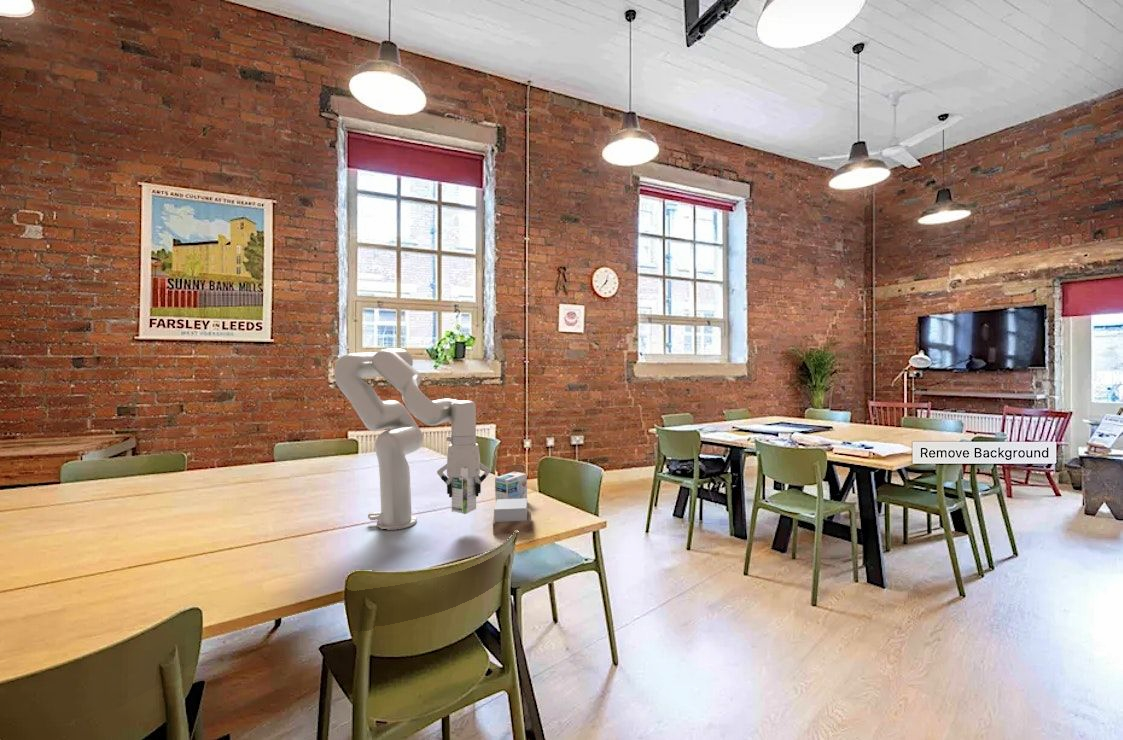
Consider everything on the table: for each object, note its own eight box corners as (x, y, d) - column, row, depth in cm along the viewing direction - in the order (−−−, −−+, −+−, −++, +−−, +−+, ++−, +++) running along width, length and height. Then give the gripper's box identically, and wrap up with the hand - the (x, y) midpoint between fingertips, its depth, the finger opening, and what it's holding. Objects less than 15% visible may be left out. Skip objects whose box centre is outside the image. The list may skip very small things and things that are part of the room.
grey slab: (494, 522, 154) (493, 509, 154) (497, 511, 164) (496, 499, 164) (526, 520, 155) (526, 508, 155) (527, 510, 165) (527, 498, 165)
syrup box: (450, 511, 155) (450, 465, 154) (462, 506, 160) (462, 461, 159) (465, 514, 152) (465, 468, 152) (477, 508, 158) (476, 463, 157)
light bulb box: (508, 509, 176) (507, 479, 176) (494, 506, 180) (493, 477, 180) (528, 502, 185) (527, 473, 184) (514, 499, 189) (514, 471, 188)
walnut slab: (493, 536, 153) (492, 523, 153) (494, 522, 165) (494, 510, 165) (532, 533, 155) (531, 521, 154) (530, 520, 166) (530, 508, 166)
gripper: (433, 443, 150) (434, 500, 151) (491, 442, 152) (491, 498, 153) (437, 438, 158) (437, 492, 159) (492, 437, 160) (492, 491, 161)
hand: (464, 495), depth 156 cm, fingers closed on syrup box, 7 cm apart
